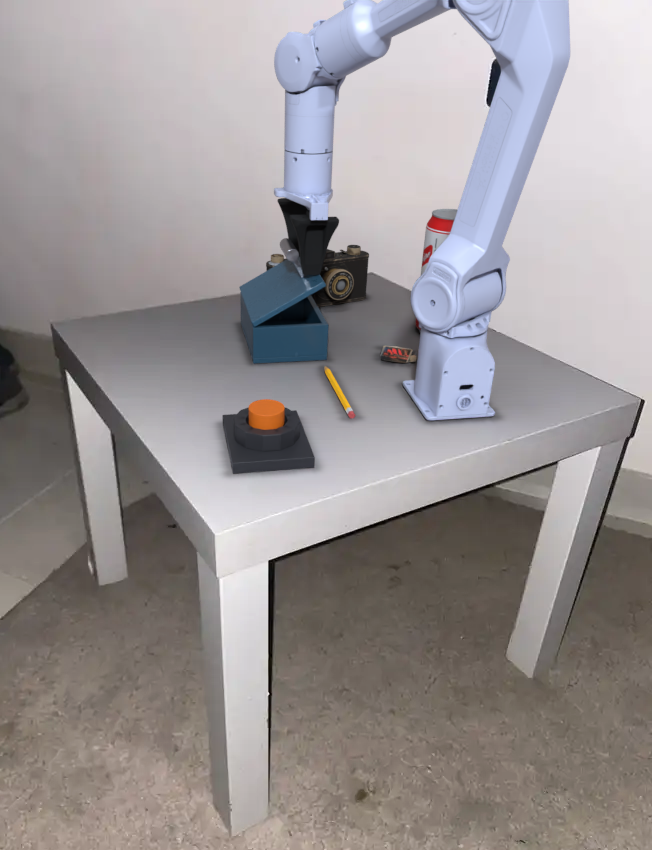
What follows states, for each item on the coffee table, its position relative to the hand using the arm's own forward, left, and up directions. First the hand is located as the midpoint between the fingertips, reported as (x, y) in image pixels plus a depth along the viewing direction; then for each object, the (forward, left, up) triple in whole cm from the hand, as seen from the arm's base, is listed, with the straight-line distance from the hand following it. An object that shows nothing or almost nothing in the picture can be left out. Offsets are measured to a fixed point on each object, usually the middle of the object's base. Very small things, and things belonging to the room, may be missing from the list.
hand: (305, 264), depth 98 cm
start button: (-27, +9, -8) cm, 29 cm away
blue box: (0, +3, -10) cm, 11 cm away
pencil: (-16, -1, -10) cm, 19 cm away
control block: (-27, +9, -10) cm, 30 cm away
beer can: (+1, -19, -10) cm, 22 cm away
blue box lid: (0, +3, -3) cm, 4 cm away
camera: (+13, -5, -10) cm, 17 cm away
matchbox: (-7, -11, -10) cm, 17 cm away
